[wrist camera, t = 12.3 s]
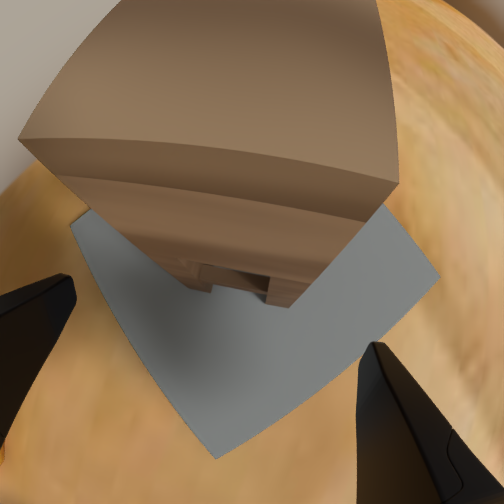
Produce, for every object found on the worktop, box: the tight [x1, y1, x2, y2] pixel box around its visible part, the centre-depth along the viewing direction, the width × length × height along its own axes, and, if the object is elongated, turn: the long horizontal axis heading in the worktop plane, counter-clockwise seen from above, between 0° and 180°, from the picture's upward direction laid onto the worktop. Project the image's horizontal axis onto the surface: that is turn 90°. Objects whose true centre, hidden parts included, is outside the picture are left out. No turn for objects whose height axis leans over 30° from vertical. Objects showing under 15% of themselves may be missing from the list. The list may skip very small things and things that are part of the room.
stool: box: [18, 0, 399, 308], centre depth 10 cm, size 5×5×13 cm
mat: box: [70, 204, 440, 459], centre depth 17 cm, size 16×16×1 cm
